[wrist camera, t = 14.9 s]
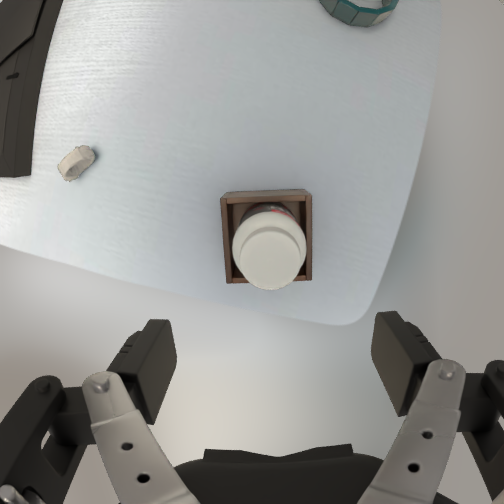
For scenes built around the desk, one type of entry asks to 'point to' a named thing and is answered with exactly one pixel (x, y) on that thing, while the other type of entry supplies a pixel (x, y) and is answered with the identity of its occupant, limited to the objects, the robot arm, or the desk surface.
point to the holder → (241, 201)
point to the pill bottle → (269, 245)
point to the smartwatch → (76, 162)
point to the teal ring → (358, 12)
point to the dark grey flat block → (22, 77)
